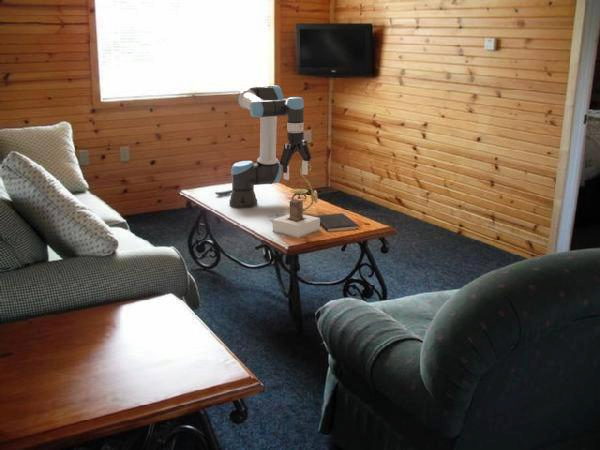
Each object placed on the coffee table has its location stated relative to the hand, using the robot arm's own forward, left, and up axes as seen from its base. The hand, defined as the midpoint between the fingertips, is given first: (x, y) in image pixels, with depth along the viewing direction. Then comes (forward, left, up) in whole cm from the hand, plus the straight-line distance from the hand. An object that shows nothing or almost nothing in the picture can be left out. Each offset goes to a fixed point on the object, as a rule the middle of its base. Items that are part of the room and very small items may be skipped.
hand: (295, 176), depth 328 cm
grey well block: (0, 0, -26) cm, 26 cm away
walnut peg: (0, 0, -26) cm, 26 cm away
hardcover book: (-21, +7, -27) cm, 35 cm away
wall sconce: (-31, -21, -27) cm, 46 cm away
